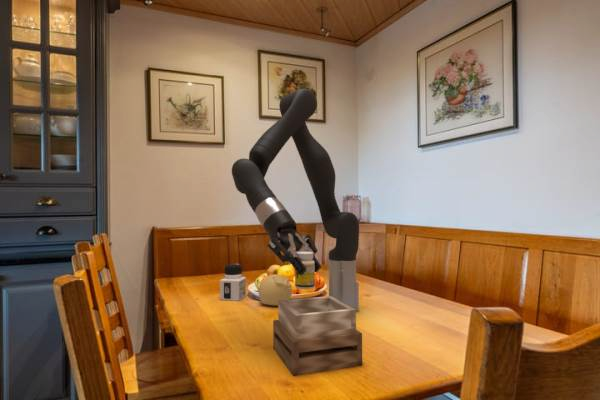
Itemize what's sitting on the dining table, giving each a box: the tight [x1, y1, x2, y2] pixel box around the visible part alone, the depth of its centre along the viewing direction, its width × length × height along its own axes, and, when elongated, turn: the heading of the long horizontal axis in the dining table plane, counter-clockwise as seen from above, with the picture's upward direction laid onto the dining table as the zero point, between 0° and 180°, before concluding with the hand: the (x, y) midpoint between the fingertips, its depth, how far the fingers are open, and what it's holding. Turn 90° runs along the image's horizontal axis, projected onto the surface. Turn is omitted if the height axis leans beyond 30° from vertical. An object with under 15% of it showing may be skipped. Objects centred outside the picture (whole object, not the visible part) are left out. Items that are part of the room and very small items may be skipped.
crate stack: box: [272, 295, 363, 377], centre depth 90 cm, size 16×16×12 cm
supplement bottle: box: [294, 251, 316, 290], centre depth 92 cm, size 5×5×8 cm
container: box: [219, 263, 247, 302], centre depth 147 cm, size 8×8×13 cm
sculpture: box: [258, 273, 293, 307], centre depth 138 cm, size 12×12×11 cm
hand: (310, 271), depth 90 cm, fingers closed on supplement bottle, 4 cm apart
